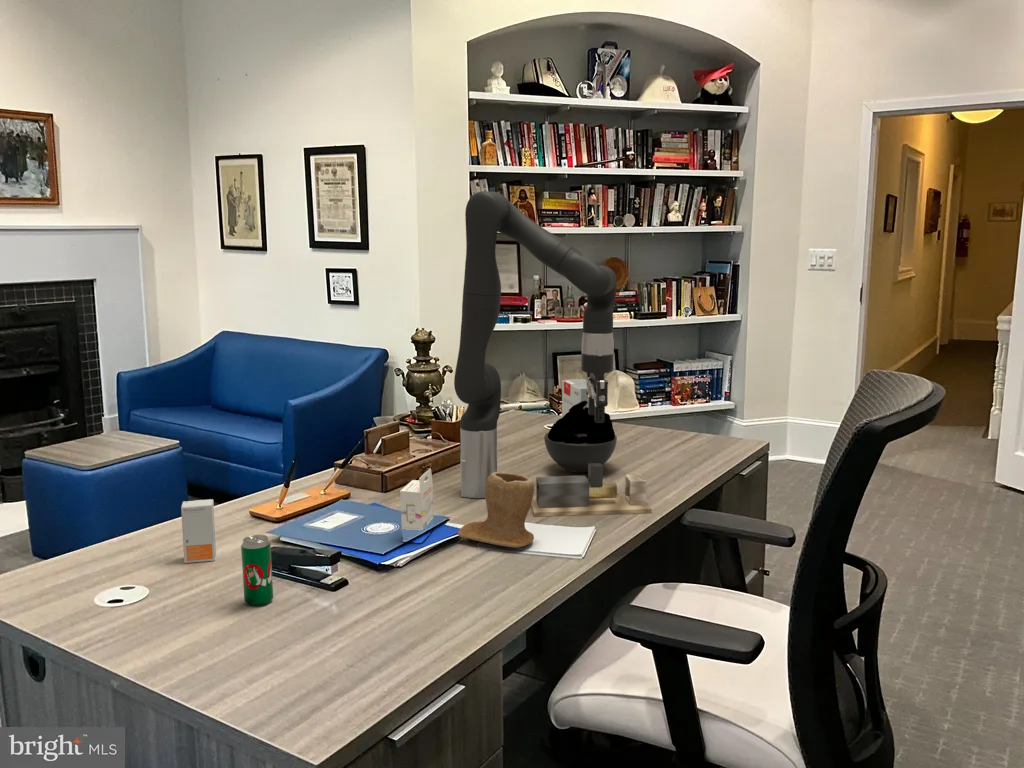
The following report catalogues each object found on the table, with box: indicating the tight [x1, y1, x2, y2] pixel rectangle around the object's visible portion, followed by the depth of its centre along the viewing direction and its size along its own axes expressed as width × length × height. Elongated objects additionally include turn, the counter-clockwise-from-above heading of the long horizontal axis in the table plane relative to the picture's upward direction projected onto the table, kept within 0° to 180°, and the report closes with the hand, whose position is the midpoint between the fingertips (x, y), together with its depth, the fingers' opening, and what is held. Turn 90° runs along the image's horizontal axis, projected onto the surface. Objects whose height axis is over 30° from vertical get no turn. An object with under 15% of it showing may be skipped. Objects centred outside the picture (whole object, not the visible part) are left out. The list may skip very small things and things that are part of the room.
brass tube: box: [587, 463, 618, 499], centre depth 208 cm, size 17×4×8 cm, turn 95°
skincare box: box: [180, 498, 217, 564], centre depth 175 cm, size 6×4×12 cm
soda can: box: [240, 534, 274, 607], centre depth 155 cm, size 5×5×12 cm
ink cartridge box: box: [399, 467, 434, 531], centre depth 187 cm, size 9×5×15 cm, turn 168°
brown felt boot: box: [457, 471, 535, 548], centre depth 185 cm, size 15×12×15 cm
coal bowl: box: [544, 401, 618, 474], centre depth 238 cm, size 20×20×19 cm
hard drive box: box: [561, 378, 603, 418], centre depth 266 cm, size 16×8×20 cm, turn 17°
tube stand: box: [530, 473, 652, 518], centre depth 208 cm, size 28×12×7 cm, turn 95°
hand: (596, 418), depth 205 cm, fingers open, 8 cm apart
